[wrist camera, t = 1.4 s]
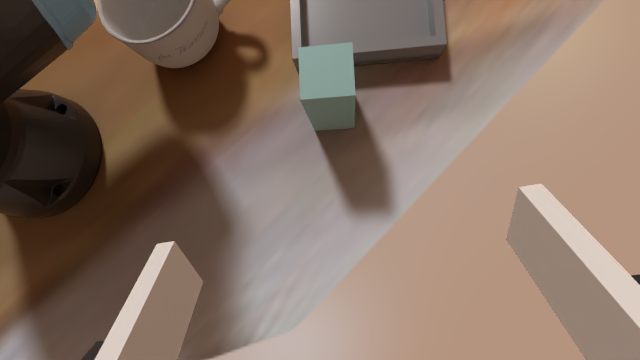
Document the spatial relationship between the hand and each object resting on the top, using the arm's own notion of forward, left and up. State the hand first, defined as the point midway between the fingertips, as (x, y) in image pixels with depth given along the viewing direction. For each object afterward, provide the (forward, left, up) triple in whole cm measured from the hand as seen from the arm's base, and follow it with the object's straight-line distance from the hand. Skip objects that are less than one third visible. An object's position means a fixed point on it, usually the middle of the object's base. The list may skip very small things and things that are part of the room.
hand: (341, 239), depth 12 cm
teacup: (-17, +24, -22) cm, 36 cm away
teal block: (-1, +13, -22) cm, 25 cm away
